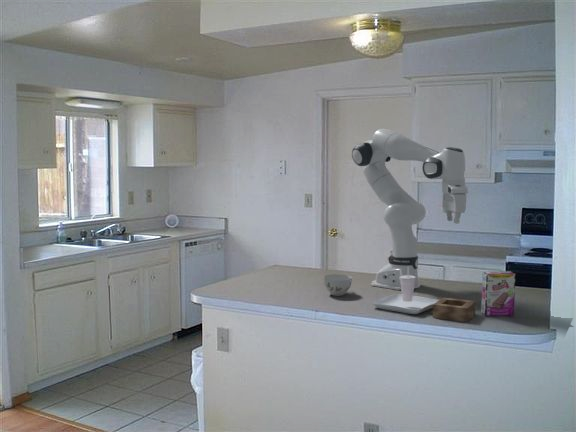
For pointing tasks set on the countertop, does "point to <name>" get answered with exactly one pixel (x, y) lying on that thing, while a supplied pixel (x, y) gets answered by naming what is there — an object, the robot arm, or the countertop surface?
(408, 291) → the smoothie
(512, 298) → the candy bar box
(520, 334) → the countertop surface
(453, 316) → the walnut holder
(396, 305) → the salad plate
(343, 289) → the teacup
